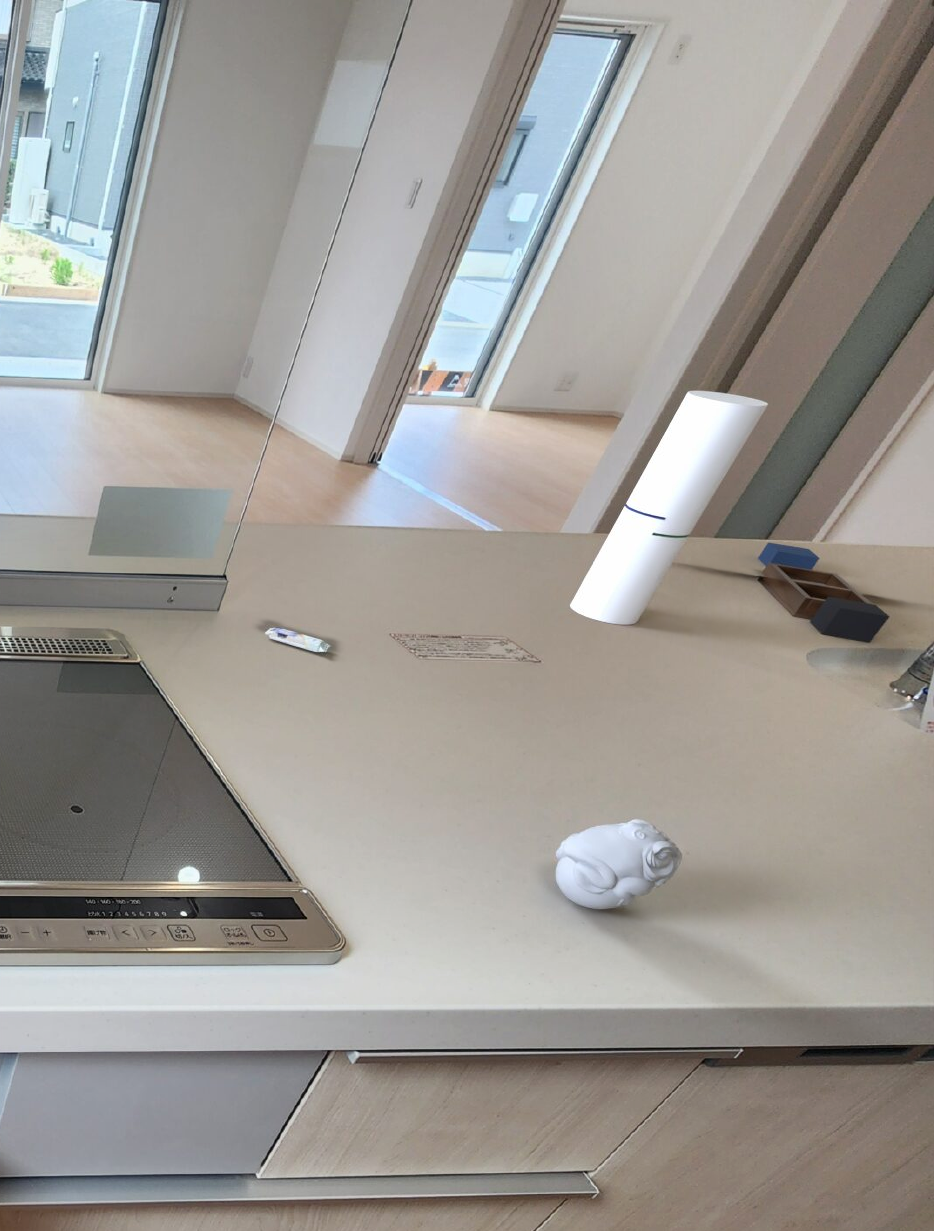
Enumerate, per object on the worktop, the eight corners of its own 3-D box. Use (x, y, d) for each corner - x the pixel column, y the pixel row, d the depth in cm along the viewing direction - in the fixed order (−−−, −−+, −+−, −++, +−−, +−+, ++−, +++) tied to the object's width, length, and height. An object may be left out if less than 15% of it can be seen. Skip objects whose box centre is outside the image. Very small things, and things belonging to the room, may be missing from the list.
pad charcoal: (856, 630, 119) (875, 604, 117) (870, 642, 116) (890, 616, 114) (809, 621, 120) (827, 596, 118) (821, 633, 117) (840, 607, 115)
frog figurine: (656, 935, 68) (716, 859, 64) (552, 920, 69) (605, 844, 65) (614, 883, 73) (667, 809, 69) (517, 869, 74) (565, 795, 70)
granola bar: (329, 650, 105) (333, 641, 104) (323, 656, 103) (327, 648, 103) (268, 631, 108) (271, 622, 107) (262, 637, 107) (265, 629, 106)
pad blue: (793, 572, 136) (809, 548, 134) (803, 581, 133) (820, 557, 131) (752, 565, 137) (767, 542, 135) (761, 574, 134) (777, 551, 132)
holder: (824, 591, 130) (836, 573, 129) (866, 629, 119) (880, 610, 118) (757, 579, 132) (768, 562, 131) (792, 616, 122) (805, 597, 120)
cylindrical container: (577, 597, 123) (693, 388, 108) (642, 614, 119) (772, 400, 104) (563, 610, 119) (682, 395, 104) (630, 629, 115) (763, 408, 100)
